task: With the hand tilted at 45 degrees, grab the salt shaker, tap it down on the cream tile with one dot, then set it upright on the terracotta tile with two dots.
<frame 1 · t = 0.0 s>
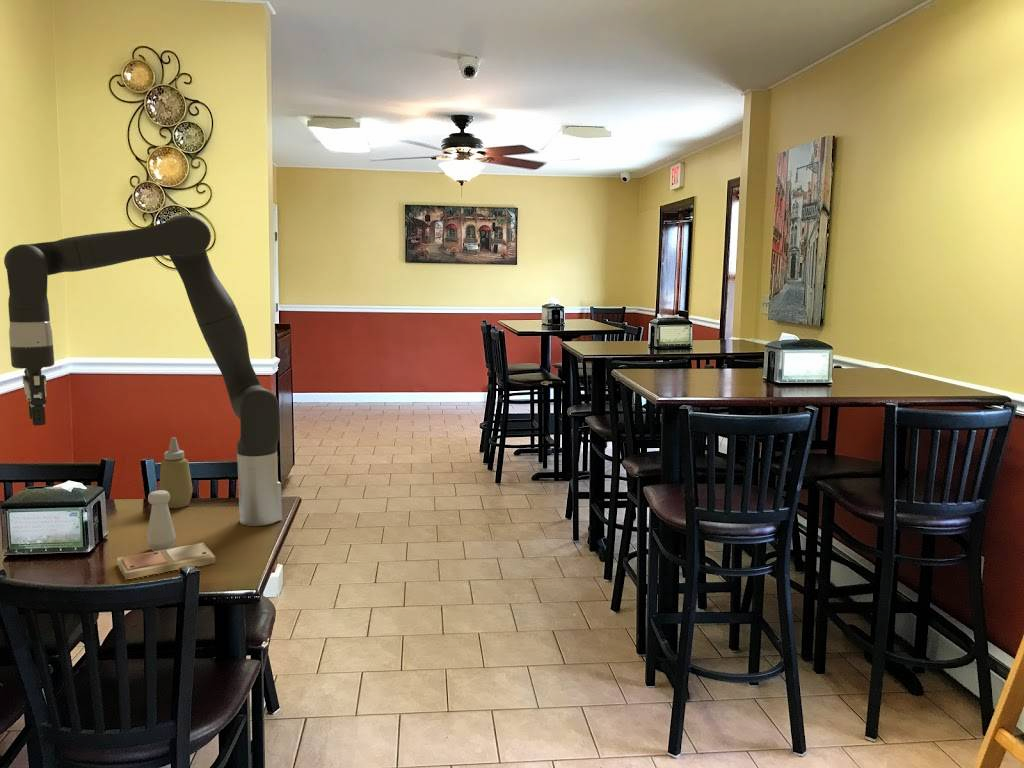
hand: (37, 421, 161), 29 cm above the table, tool pointing down, fingers open, 8 cm apart
squeeze bottle: (176, 506, 202), on the table
salt shaker: (161, 550, 170), on the table
tile board: (166, 564, 162), on the table
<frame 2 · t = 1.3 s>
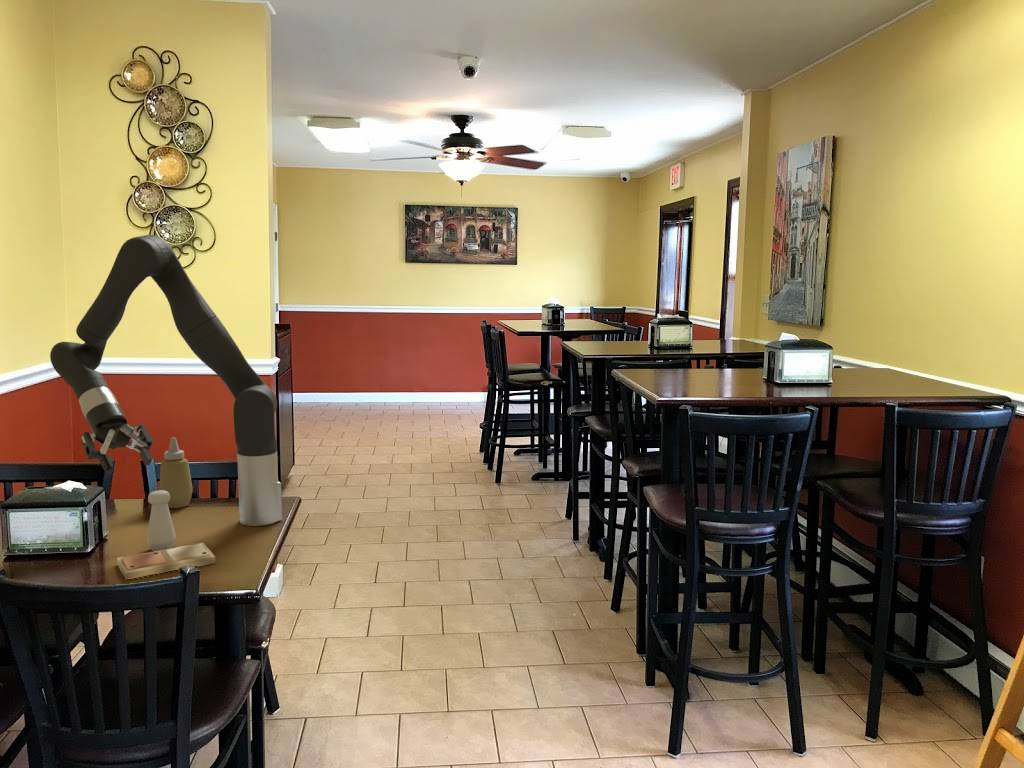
hand: (130, 467, 175), 17 cm above the table, tool tilted 45°, fingers open, 8 cm apart
nothing on the table moved.
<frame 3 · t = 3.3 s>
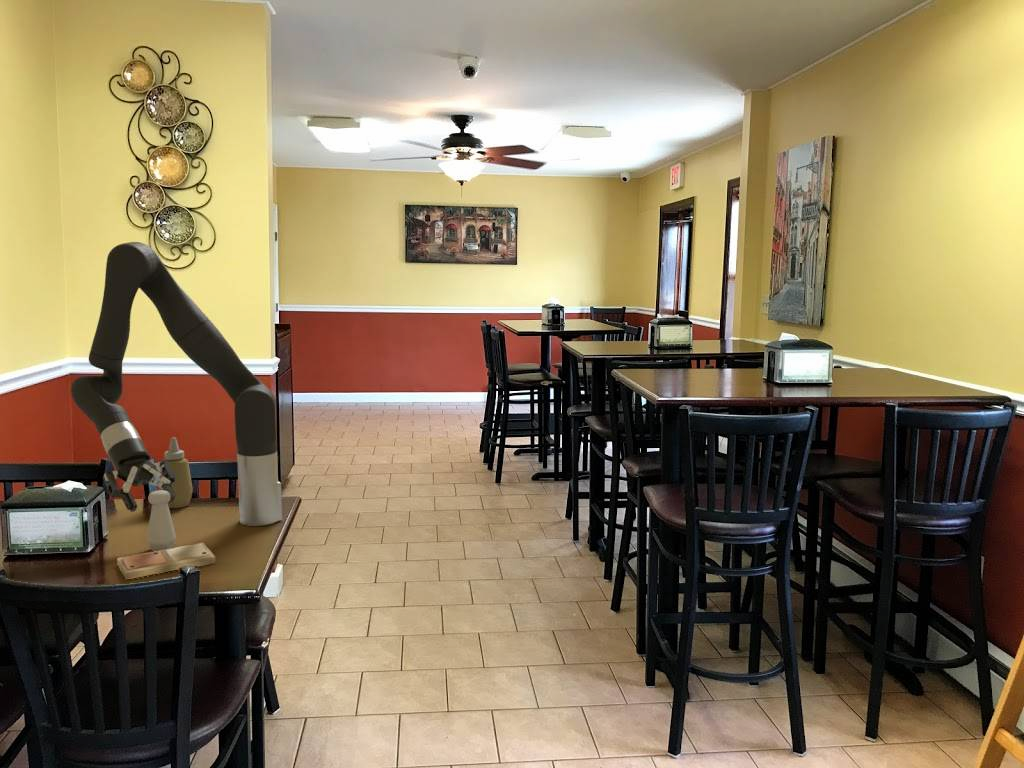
hand: (153, 505, 170), 10 cm above the table, tool tilted 45°, fingers open, 8 cm apart
nothing on the table moved.
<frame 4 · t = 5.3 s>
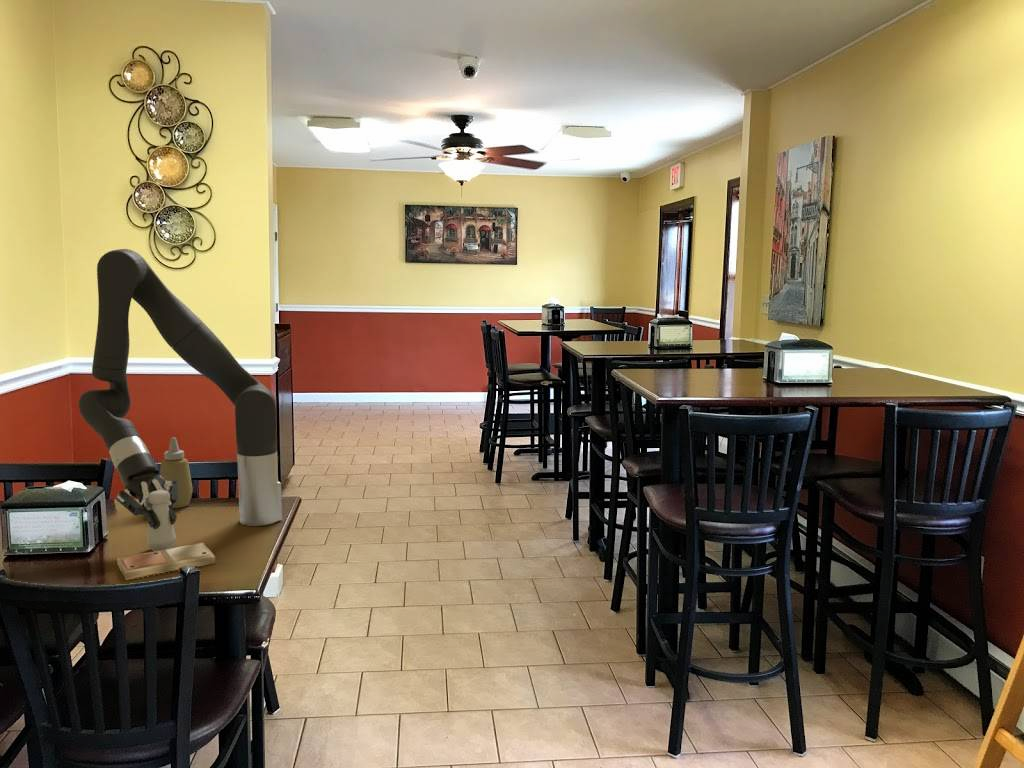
hand: (165, 524, 168), 6 cm above the table, tool tilted 45°, fingers closed on salt shaker, 3 cm apart
salt shaker: (161, 549, 170), on the table, touching gripper
everything else where it was.
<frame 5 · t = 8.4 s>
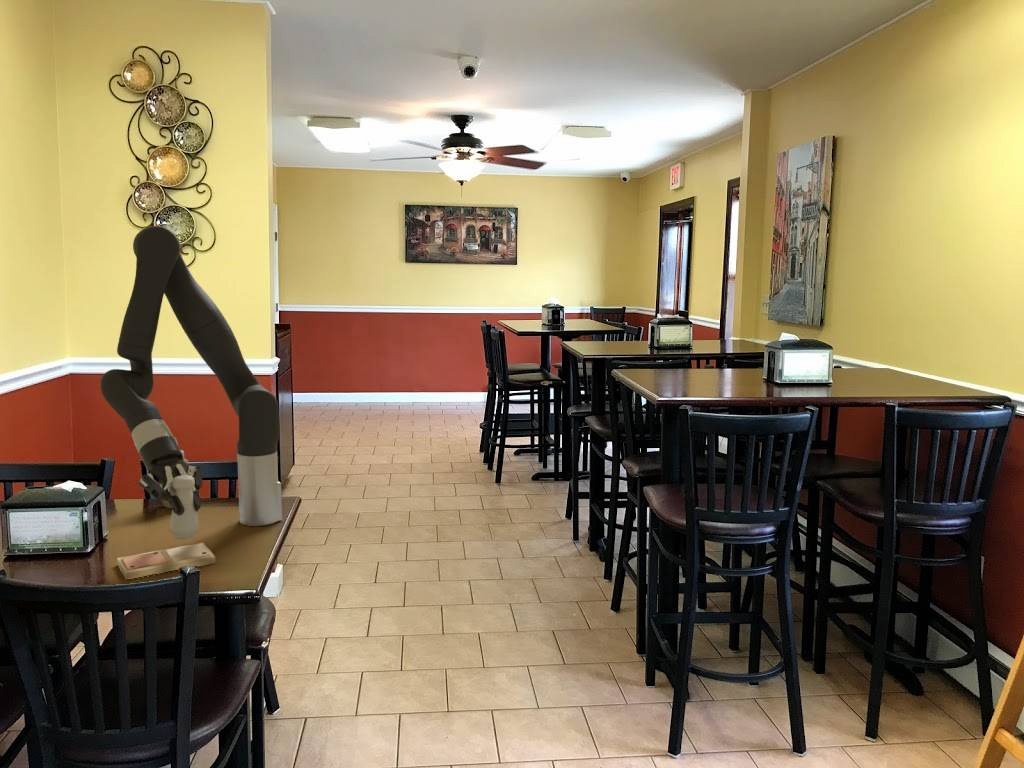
hand: (189, 511, 161), 11 cm above the table, tool tilted 45°, fingers closed on salt shaker, 3 cm apart
salt shaker: (184, 537, 163), point 5 cm above the table, touching gripper
everything else where it was.
when the fingers open (9 cm above the table, at t = 11.7 s): salt shaker drops 1 cm, resting on tile board.
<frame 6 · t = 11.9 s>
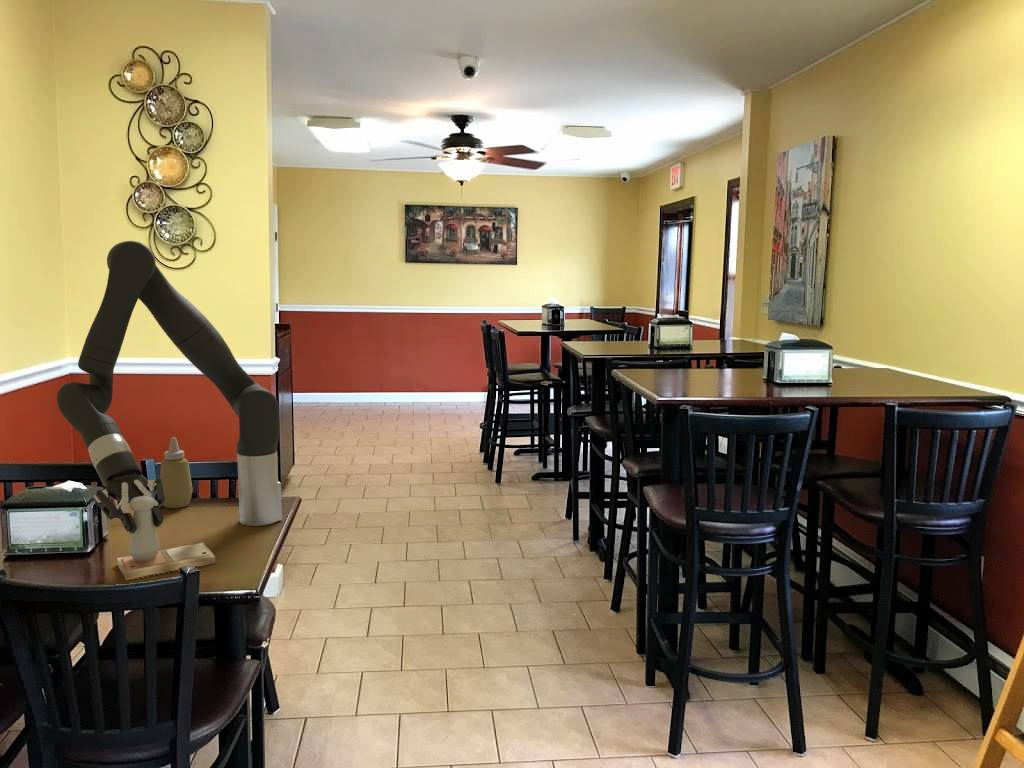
hand: (147, 527, 157), 9 cm above the table, tool tilted 45°, fingers open, 4 cm apart
salt shaker: (144, 559, 160), point 2 cm above the table, touching tile board
everything else where it was.
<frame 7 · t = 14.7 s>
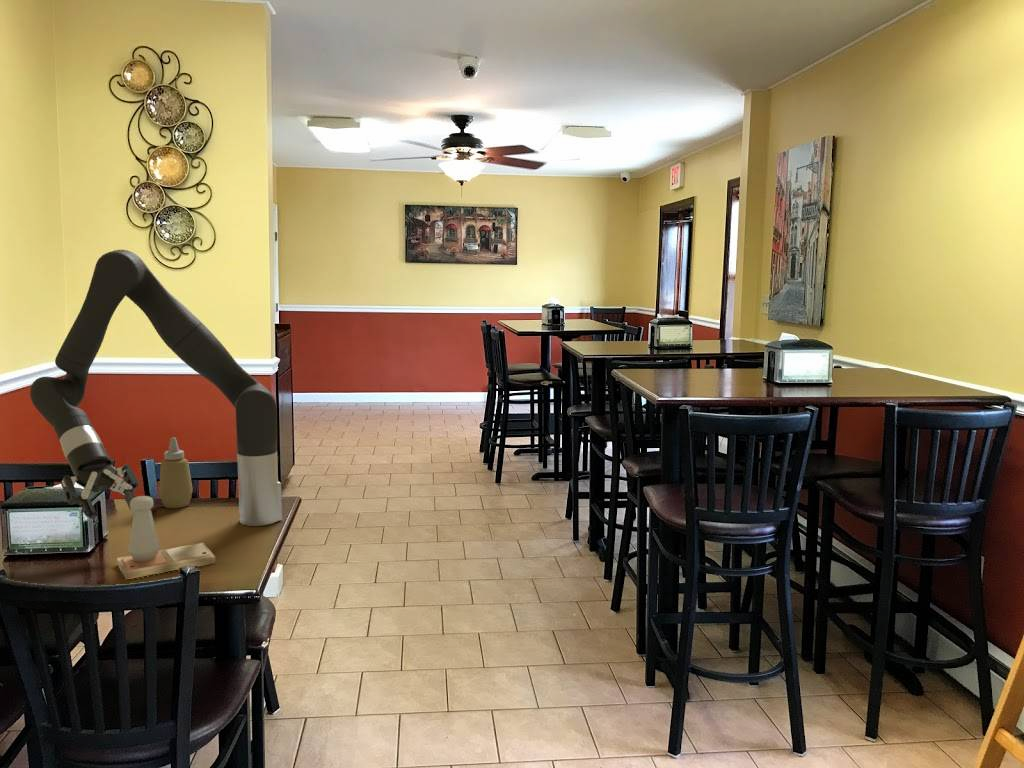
hand: (113, 511, 165), 10 cm above the table, tool tilted 45°, fingers open, 8 cm apart
nothing on the table moved.
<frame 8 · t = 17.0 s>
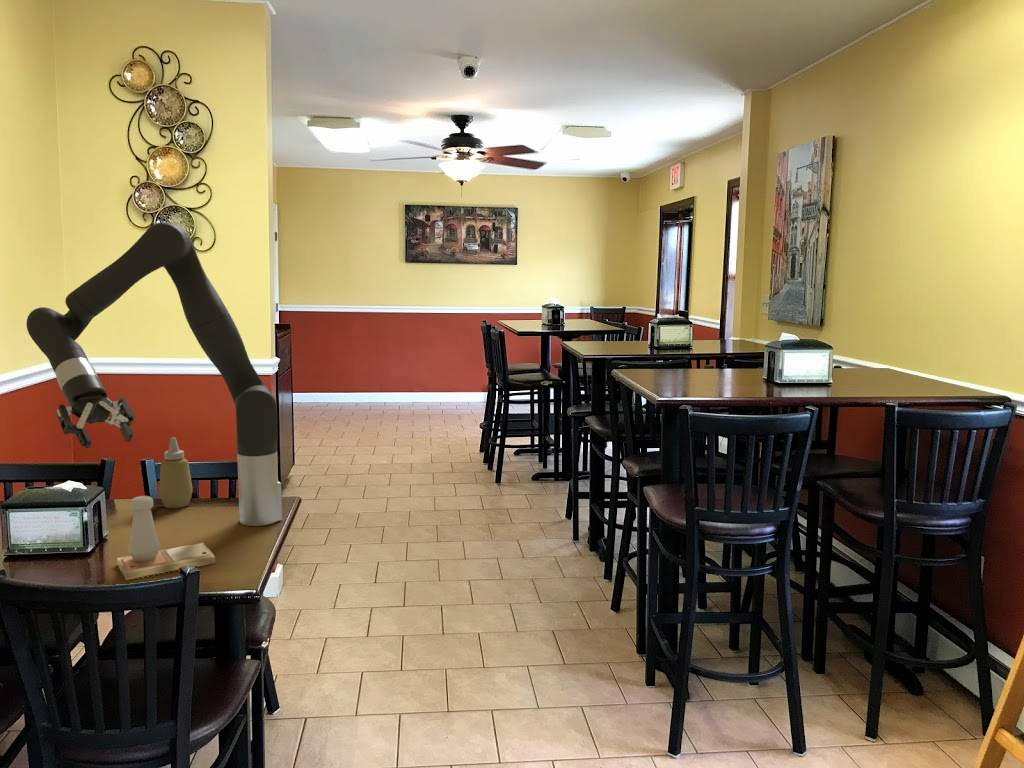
hand: (109, 442, 163), 25 cm above the table, tool tilted 45°, fingers open, 8 cm apart
nothing on the table moved.
at the end: salt shaker 0.6 cm from the target spot on the tile board, point 1.6 cm above the tile board's base; salt shaker tilted 0°; the gripper is holding nothing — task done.
